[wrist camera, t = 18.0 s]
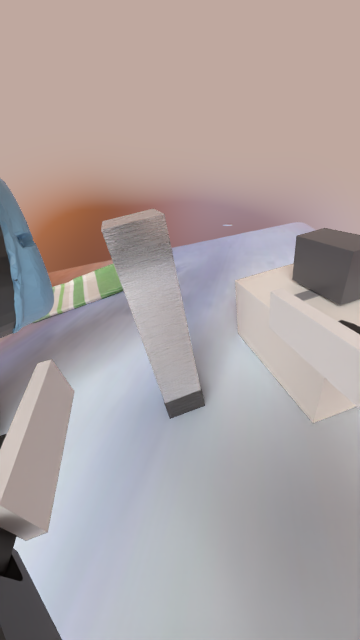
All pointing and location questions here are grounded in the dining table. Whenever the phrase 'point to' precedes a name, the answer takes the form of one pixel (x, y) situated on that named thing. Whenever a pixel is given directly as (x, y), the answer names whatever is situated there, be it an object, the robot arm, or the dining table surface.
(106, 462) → the dining table surface
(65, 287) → the dish towel
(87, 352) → the dining table surface
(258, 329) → the bevelled white plinth
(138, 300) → the white tall square post
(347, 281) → the knob
